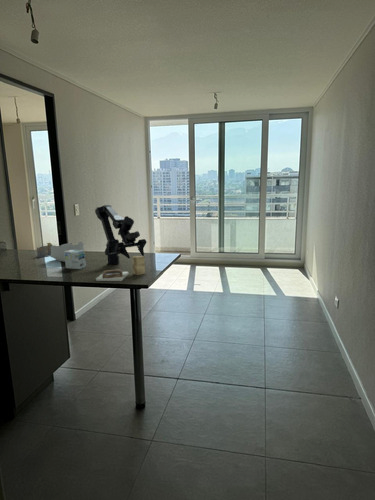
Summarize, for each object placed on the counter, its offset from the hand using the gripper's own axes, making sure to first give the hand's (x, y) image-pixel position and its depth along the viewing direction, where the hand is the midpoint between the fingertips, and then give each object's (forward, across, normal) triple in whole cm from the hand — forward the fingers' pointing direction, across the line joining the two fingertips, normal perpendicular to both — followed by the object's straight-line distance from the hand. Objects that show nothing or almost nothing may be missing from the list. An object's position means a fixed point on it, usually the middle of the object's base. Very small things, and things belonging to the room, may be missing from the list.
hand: (136, 256), depth 187 cm
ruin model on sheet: (-58, -26, +71) cm, 95 cm away
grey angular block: (-38, -17, +51) cm, 66 cm away
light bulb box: (-21, -22, +34) cm, 45 cm away
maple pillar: (+8, 0, +5) cm, 10 cm away
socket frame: (+5, -15, +7) cm, 17 cm away
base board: (+6, -15, +8) cm, 17 cm away
